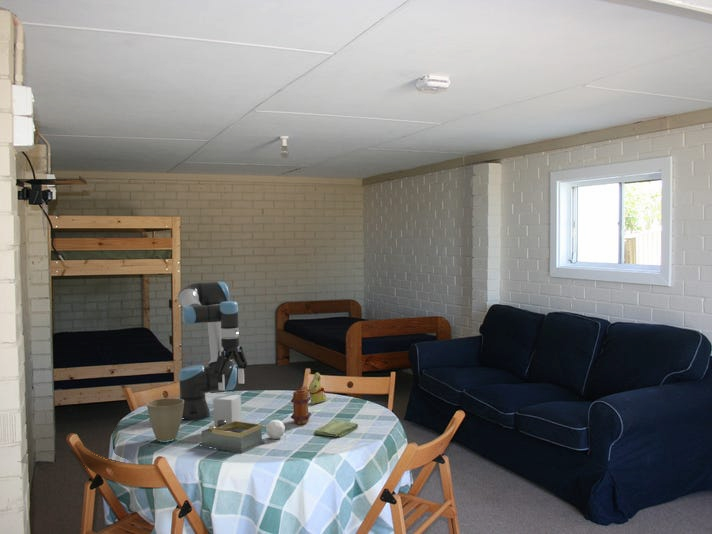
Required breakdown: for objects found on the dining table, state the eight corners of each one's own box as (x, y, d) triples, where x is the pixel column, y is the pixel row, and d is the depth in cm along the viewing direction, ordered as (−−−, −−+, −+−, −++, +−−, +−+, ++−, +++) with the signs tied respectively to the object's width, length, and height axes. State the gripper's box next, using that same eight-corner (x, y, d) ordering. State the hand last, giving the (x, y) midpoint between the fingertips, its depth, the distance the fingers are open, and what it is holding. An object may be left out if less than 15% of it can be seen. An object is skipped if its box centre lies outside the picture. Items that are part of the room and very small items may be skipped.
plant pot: (165, 447, 272) (164, 408, 271) (140, 442, 280) (138, 404, 279) (193, 437, 285) (191, 400, 284) (168, 433, 293) (166, 396, 292)
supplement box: (242, 429, 296) (241, 394, 295) (232, 434, 287) (231, 399, 287) (224, 427, 299) (223, 393, 298) (213, 433, 290) (212, 398, 290)
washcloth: (312, 435, 285) (312, 428, 284) (335, 425, 300) (335, 418, 300) (338, 440, 278) (338, 432, 278) (360, 429, 293) (360, 421, 293)
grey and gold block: (199, 446, 273) (198, 426, 272) (223, 436, 285) (222, 417, 285) (241, 453, 262) (241, 432, 262) (264, 443, 275) (264, 423, 274)
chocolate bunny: (305, 404, 337) (305, 374, 337) (321, 399, 346) (320, 370, 345) (315, 406, 333) (314, 375, 332) (331, 401, 341) (330, 371, 340)
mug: (307, 426, 298) (306, 392, 297) (289, 425, 299) (288, 391, 298) (315, 417, 312) (314, 384, 311) (298, 416, 314) (297, 384, 313)
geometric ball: (274, 443, 283) (277, 425, 288) (287, 439, 278) (290, 421, 283) (260, 437, 279) (263, 419, 283) (273, 433, 274) (276, 415, 278)
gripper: (218, 342, 280) (220, 393, 281) (254, 333, 302) (255, 381, 303) (204, 341, 283) (205, 392, 284) (240, 333, 305) (242, 380, 306)
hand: (231, 386), depth 293 cm, fingers open, 13 cm apart
